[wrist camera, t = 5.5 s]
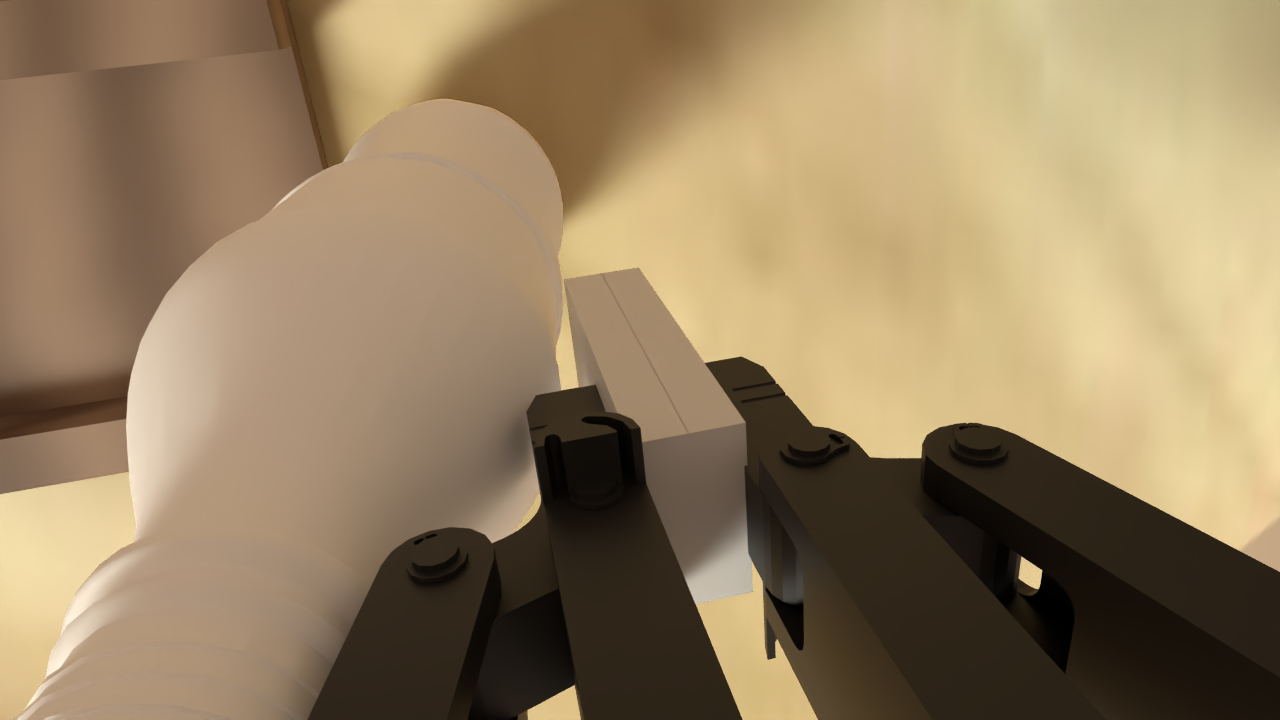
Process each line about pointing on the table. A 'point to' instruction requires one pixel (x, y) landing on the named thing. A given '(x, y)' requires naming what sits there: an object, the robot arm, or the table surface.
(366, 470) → the water bottle
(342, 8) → the table surface
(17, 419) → the walnut cradle
